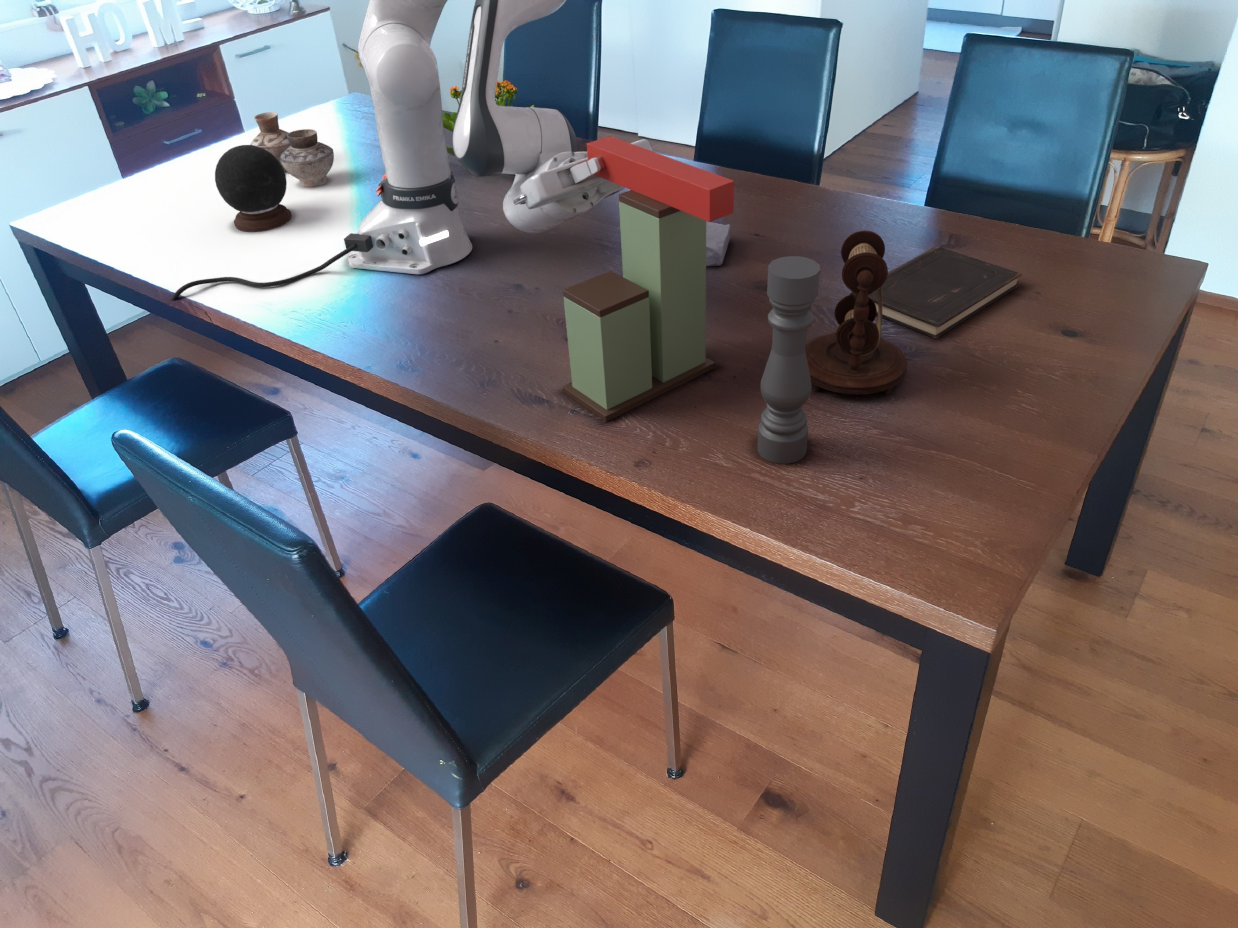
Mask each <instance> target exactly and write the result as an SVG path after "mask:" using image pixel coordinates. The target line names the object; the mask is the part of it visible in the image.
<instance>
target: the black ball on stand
mask: <svg viewBox="0 0 1238 928" xmlns="http://www.w3.org/2000/svg"><path fill="white" fill-rule="evenodd" d="M214 182H215V186H216V189H217V191H218V193H219V195H220V197H221V198H222V199H223V201H224V202H225V203H226V204H227V205H229V206H230V207H231V208H233V209H234V210H235V211H238V212H237V213H236V215H235V218H234V220H233V225H234V227H235V229H237V230H238V231H241V232H245V233H256V232H257V233H258V232H266V231H270V230H274V229H278V228H279V227H282V226H284V225H286V224H288V223H289V222H290V221H291V220H292V217H293V215H292V212H291V210H290V209H289V208H287V206H286V205H284V204H281V203H282V201H283V199H284V197H285V194H286V192H287V183H288V182H287V175H286V171H284V169H283V167H282V165H281V164H280V162H279V161H278V160H277V159H276V157H275V156H274V155H273V154H271V153H270V152H268V151H267V150H265V149H263V148H261V147H258V146H254V145H251V144H240V145H236V146H234V147H232V148H229V149H227V150H226V151H225V152H224V153H223V154H222V155H221V157H219V159H218V161H217V163H216V166H215V171H214Z"/></svg>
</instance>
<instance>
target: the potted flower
mask: <svg viewBox="0 0 1238 928" xmlns="http://www.w3.org/2000/svg"><path fill="white" fill-rule="evenodd" d="M449 90H450V91H449V93H450V94H449V95H450V97H451V98H452V99H455V100H456V102H457V104H458V106H459V103H460V98H461V92H462V89H460V90H459V86H456V85H455V86H454V87H450V88H449ZM518 93H519V91H518V88H517V87H516V86H514V84H512V83H511V81H509V80H506V79H505V80H503V81H499V80H497V85H496V93H495V102H496V104H497V105H498V106H506V104H507V100H508V105H507V107H513V105H512V102H515V101H516V98H517V96H516V94H518ZM458 99H459V100H458ZM530 107H533V108H536V107H535V104H532V105H530ZM442 115H443V128H444V129H446V130H448V131H450V132H452V133H453V129H454V124H455V119H456V115H457V112H452V113H450V112H442ZM446 147H447V153H448V155H451V156H453V157H455V154H454V151H453V147H451V146H448V145H446Z"/></svg>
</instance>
